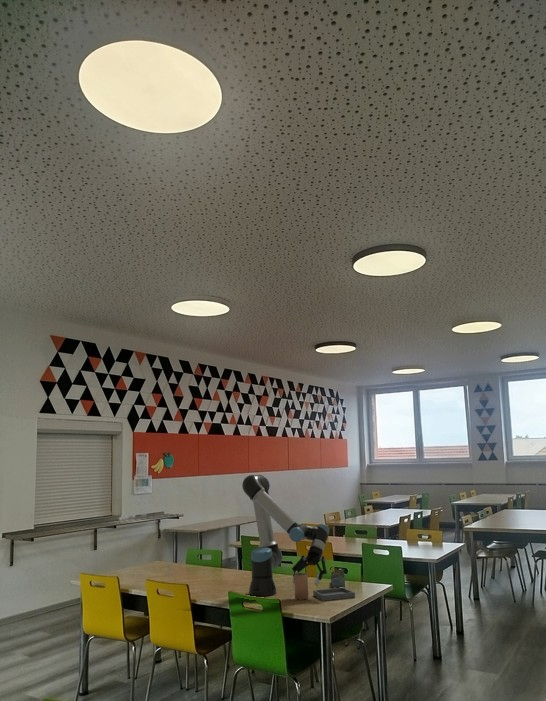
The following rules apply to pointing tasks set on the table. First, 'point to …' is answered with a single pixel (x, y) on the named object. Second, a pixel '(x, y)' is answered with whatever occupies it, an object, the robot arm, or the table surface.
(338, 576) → the beverage carton
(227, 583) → the table surface
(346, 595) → the grey square tray
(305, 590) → the terracotta cup
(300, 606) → the table surface
